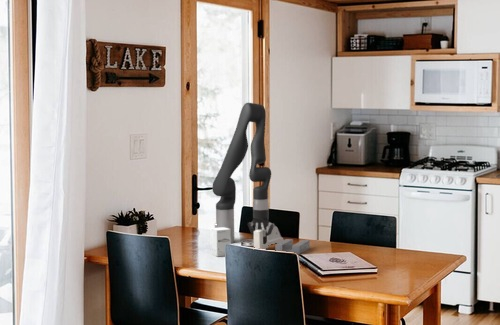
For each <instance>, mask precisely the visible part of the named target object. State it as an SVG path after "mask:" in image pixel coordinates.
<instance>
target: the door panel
mask: <svg viewBox="0 0 500 325" xmlns="http://www.w3.org/2000/svg"><path fill="white" fill-rule="evenodd" d="M267 232H268V228H267ZM263 237H264V236H263V230H262V229H258V230H256V231H254V235H253V248H254V247H255V248H262V249H265V250H267V249H269V246H268V236H267V243H266V244H263ZM266 248H267V249H266Z"/></svg>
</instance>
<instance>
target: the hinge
mask: <svg viewBox="0 0 500 325" xmlns="http://www.w3.org/2000/svg"><path fill="white" fill-rule="evenodd" d="M267 228H268V230H269V228H270V227H269V225H268V226H267ZM283 240H285V239H284V237H282V235H281V233H280V230H279V228H278V227H277V226H276V225H274V228H273V230H272V232H271V234H270V235H268V245H269V246H272V245H271V244H273V245H276V244H275V243H279V242H281V241H283Z"/></svg>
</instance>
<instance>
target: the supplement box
mask: <svg viewBox="0 0 500 325" xmlns="http://www.w3.org/2000/svg"><path fill="white" fill-rule="evenodd" d="M209 234H210V235H209V236H210V237H209V238H210V255H211V256H214V257H226V256H225V245H226V244H232V243H231V241H230V229H229V228H225V227H221V228H215V227H211V228H210V233H209Z"/></svg>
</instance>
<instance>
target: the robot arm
mask: <svg viewBox="0 0 500 325" xmlns="http://www.w3.org/2000/svg"><path fill="white" fill-rule="evenodd" d="M266 116H267V115H266V108H265V106H264V105H263V104H259V103H254V102H246V103H244V104H243V106H242V108H241V110H240V114H239V117H238V120H237V124H236V127H235V131H234V132H233V135H232V139H231V140H230V143H229V146H228V148H227V150H226V154H225V156H224V159H223V161H222V163H221V167H220V168H219V171H218V173H217V174H216V176H215V178H214V181H213V183H212V186H211V187H212V193H213V194H214V195H215V196H216V197H220V199H219V201H217V202H216V203H215V220H216V221H215V223H214V228H221V227H225V228H229V229H230V241H231V244H232V243H235V204H236V195H237V194H236V191H237V190H236V189H237V188H236V182H235V180H234V179H233V178H232V175H233V173H234V172H235V171H236V169H237V168H239V166H240V165H241V164H242V163H243V161H244V159H245V157H246V155H247V152H248V150H249V141H248V136H247V130H248V126H249V123H254V124H255V133H254V136H253V137H252V139H251V143H250V158H251V162H250V169H249V175H248V176H249V179H250V181H251V182H252V183H258V182H259V183H260V182H262V184H261V185H258V186H254V187H253V189H252V190H253V194H252V196H253V199H252V200H253V201H252V221H251V222H250V221H249V222H247V227H248V229H249V231H250V234H251V235H252V236H254V231H256V230H258V229H262V230H263V236H264V237H263V244H266V243H267V236H268V235H270V234H271V232H272V230H273V228H274V226H275V223H272V222H270V220H269V217H270V216H269V214H270V212H269V210H270V209H269V208H270V206H269V185H270V181H271V179H272V169H270V167H269V166H257V165H259V164H263V163H265V162H266V159H267V155H266V146H265V145H266V144H265V136H266V135H265V132H266V118H267V117H266ZM267 226H269V227H270V228H269V230H268V232H267Z"/></svg>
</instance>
